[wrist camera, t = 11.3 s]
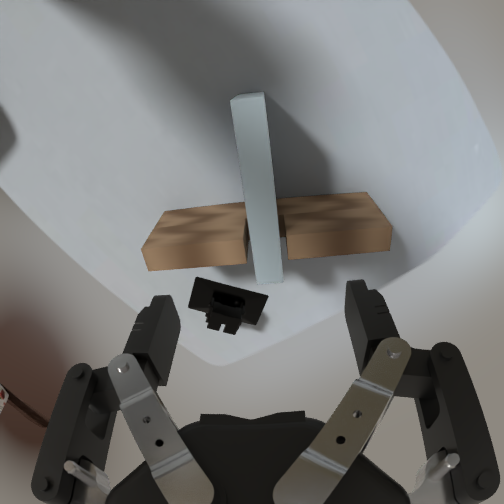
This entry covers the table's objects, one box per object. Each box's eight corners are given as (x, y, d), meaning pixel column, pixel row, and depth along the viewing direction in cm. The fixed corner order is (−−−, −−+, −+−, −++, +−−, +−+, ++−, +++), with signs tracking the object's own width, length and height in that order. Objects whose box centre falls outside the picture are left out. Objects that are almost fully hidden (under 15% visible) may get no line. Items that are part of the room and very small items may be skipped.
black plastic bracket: (177, 305, 42) (169, 329, 38) (186, 263, 38) (178, 286, 34) (263, 328, 43) (263, 353, 40) (282, 290, 40) (284, 314, 36)
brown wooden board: (169, 230, 35) (148, 271, 28) (164, 211, 34) (141, 249, 27) (365, 212, 33) (389, 250, 26) (366, 192, 32) (392, 226, 25)
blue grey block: (238, 94, 27) (229, 100, 20) (263, 91, 27) (264, 96, 20) (258, 240, 35) (256, 284, 29) (279, 238, 35) (283, 282, 28)
